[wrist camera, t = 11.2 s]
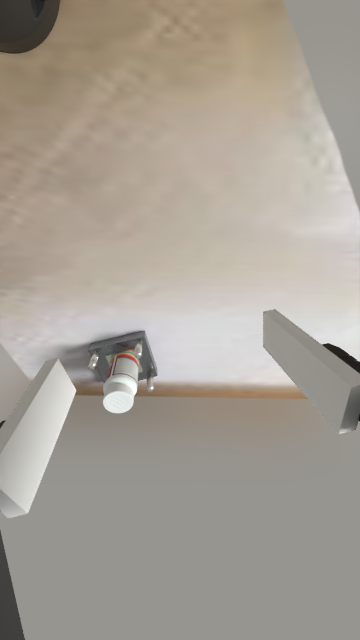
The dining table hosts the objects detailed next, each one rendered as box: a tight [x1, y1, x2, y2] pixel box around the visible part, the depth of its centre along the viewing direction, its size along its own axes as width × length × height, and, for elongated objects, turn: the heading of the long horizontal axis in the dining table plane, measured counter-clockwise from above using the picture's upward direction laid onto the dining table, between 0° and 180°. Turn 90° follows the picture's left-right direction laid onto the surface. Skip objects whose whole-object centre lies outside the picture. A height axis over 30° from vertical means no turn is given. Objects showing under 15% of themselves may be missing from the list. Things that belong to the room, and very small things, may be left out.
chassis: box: [88, 331, 157, 392], centre depth 46 cm, size 11×12×8 cm
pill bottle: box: [103, 353, 138, 413], centre depth 42 cm, size 6×6×11 cm
